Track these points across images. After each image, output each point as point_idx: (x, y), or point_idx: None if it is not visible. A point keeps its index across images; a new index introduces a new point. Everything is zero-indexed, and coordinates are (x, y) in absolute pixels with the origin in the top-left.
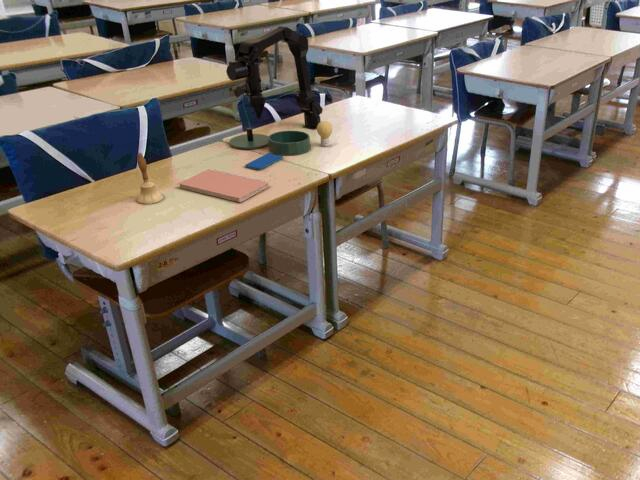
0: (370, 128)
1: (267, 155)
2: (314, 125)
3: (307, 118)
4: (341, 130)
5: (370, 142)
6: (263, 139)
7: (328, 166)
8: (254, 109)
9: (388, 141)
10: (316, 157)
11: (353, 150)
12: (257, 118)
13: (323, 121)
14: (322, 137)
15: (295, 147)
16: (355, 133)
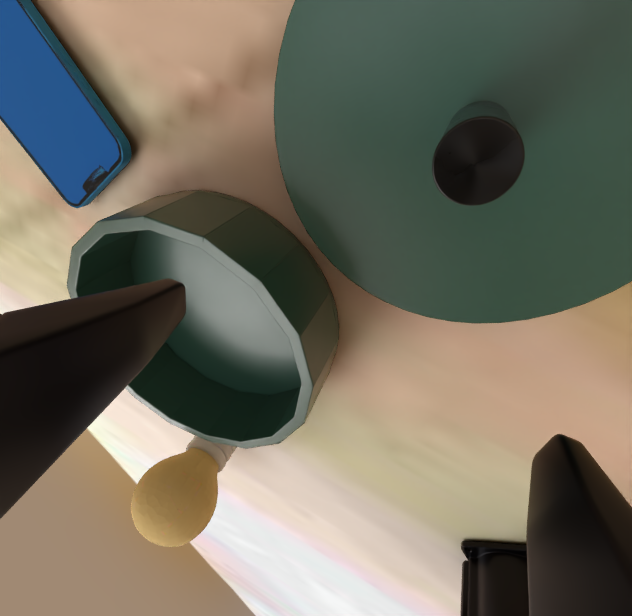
0: (341, 599)
1: (84, 123)
2: (475, 567)
3: (511, 608)
4: (374, 564)
5: (213, 515)
6: (424, 253)
7: None
8: (567, 481)
9: (207, 537)
10: None
11: (154, 449)
12: (165, 279)
13: (151, 538)
14: (184, 452)
15: None
16: (315, 555)
